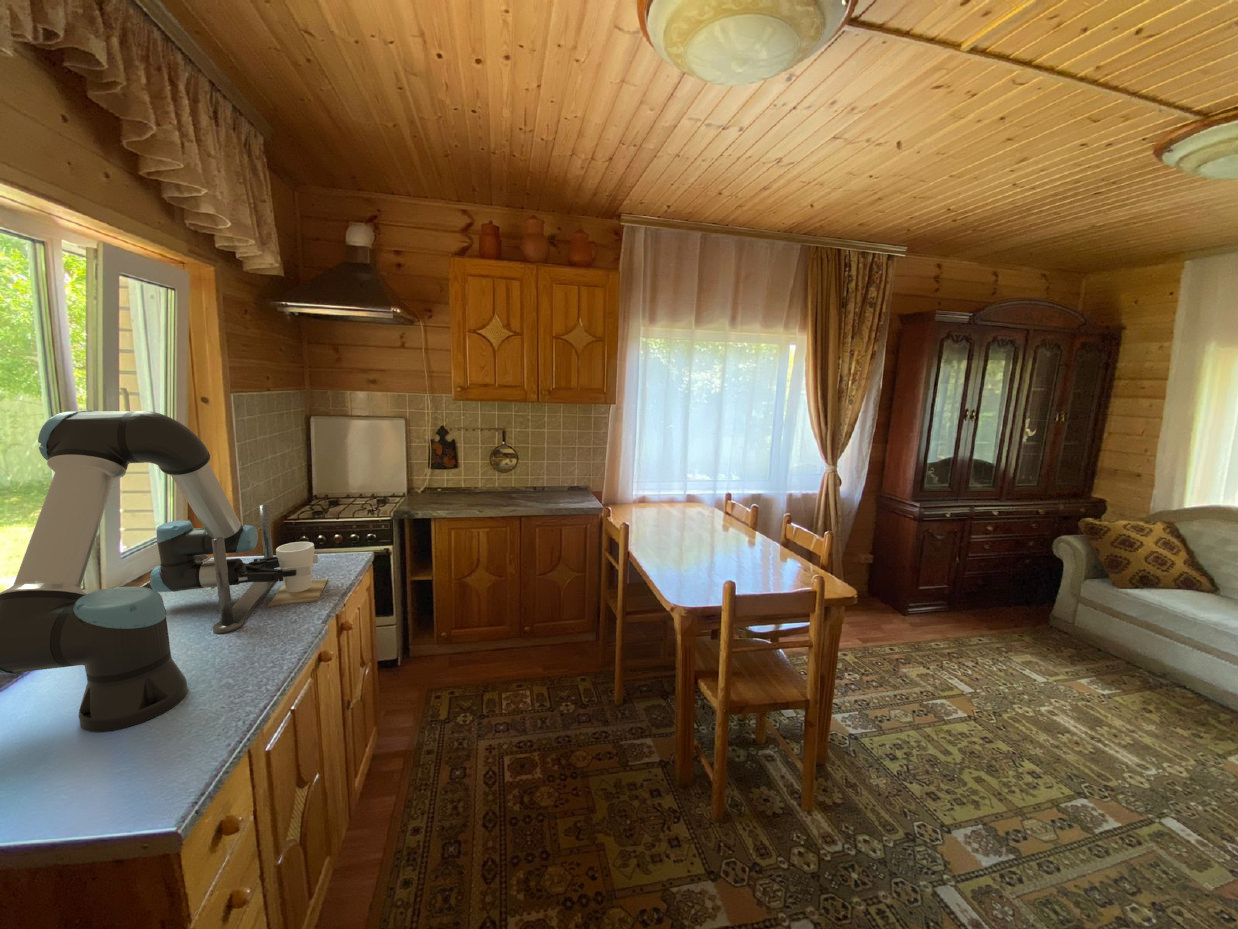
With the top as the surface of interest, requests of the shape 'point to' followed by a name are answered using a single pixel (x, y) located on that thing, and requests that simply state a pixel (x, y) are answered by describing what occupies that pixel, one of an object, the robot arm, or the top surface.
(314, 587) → the birch pad
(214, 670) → the top surface
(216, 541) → the rod gate
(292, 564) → the foam cup
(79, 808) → the top surface
